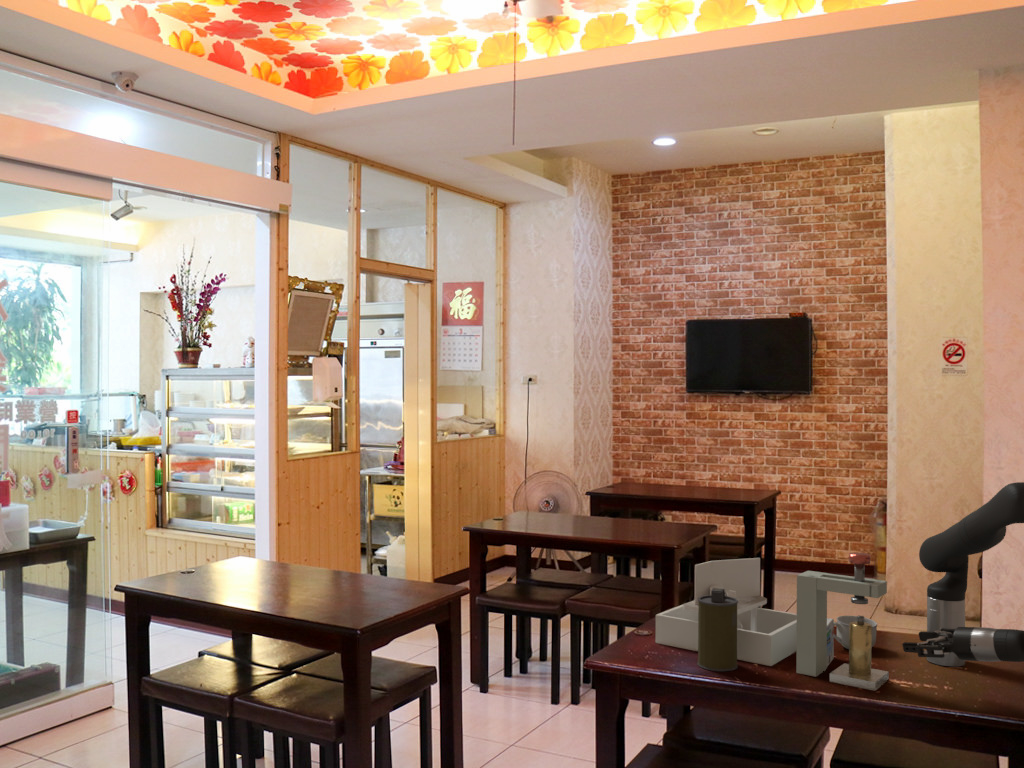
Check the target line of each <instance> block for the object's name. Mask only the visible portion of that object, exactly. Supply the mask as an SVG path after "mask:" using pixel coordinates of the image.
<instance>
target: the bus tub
mask: <svg viewBox="0 0 1024 768" xmlns="http://www.w3.org/2000/svg"><path fill="white" fill-rule="evenodd" d="M694 600H695V599H693V600H692V601H694ZM655 643H656V644H659V645H663V646H670V647H675V648H679V649H684V650H689V651H693V652H698V612H696V611H690V610H685V609H683V604H681V605H678V606H674V607H672V608H670V609H667V610H665V611H662V612H660V613H657V614H655ZM795 653H797V613H795V612H794V613H793V612H788V611H782V610H774V609H769V608H762V607H757V632H755V631H749V630H744V629H738V628H737V661H738V660H739V661H744V662H749V663H753V664H759V665H764V666H768V667H772V666H774V665H776V664H777V663H779V662H782V660H784V659H785V658H787V657H789V656H791V655H793V654H795Z"/></svg>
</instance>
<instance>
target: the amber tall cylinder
mask: <svg viewBox="0 0 1024 768" xmlns="http://www.w3.org/2000/svg"><path fill="white" fill-rule="evenodd" d="M856 616H857V622H850V630H849V649H848V664H849V672H850V673H852V674H855V675H860V676H868V675H871V668H872V625H871V624H868V623H864V617H865V616H864V615H856Z"/></svg>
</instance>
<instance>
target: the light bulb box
mask: <svg viewBox="0 0 1024 768" xmlns="http://www.w3.org/2000/svg"><path fill="white" fill-rule="evenodd" d="M834 620H835V619H834V618H830V617H829V618H828V617H827V667H828V666H829V665H830V664H831V662H832V661H833V660H834V658H835V657H834V653H835V651H834V649H835V647H834V643H835V641H834V640H835V638H834V634H835V632H834V631H835V629H834V628H835V626H834V622H835V621H834Z"/></svg>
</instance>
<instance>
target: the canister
mask: <svg viewBox="0 0 1024 768" xmlns="http://www.w3.org/2000/svg"><path fill="white" fill-rule="evenodd" d="M725 594H726V593H725V589H719V588H713V589H712V591H711V595H706V596H700V597H699V598H698V601H699V603H698V651H697V663H696V664H697V667H700V668H701V669H704V670H707V671H712V672H730V671H735V670H736V669H738V667H739V665H738V659H737V603H738V600H737V599H735V598H732V597H728V596H726V595H727V594H726V595H725Z"/></svg>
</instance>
